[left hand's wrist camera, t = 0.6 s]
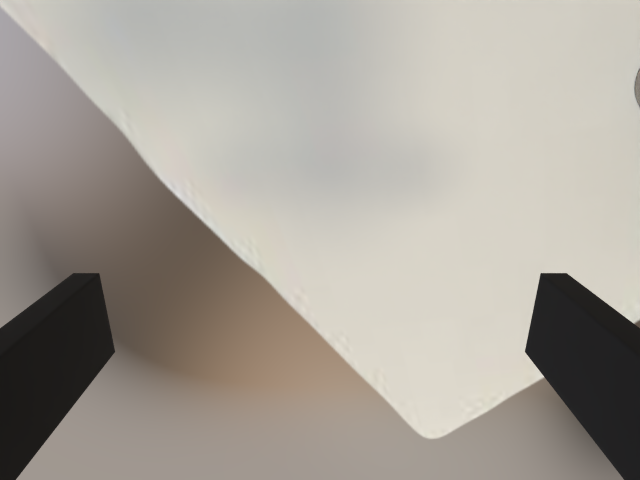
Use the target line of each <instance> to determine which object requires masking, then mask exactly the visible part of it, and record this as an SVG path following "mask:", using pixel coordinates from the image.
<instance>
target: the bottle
mask: <svg viewBox="0 0 640 480" xmlns="http://www.w3.org/2000/svg"><path fill="white" fill-rule="evenodd" d="M635 95H636V99H637V102H638V104H639V106H640V69H639V72H638V74H637V77H636V82H635Z"/></svg>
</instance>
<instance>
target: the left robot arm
mask: <svg viewBox="0 0 640 480" xmlns="http://www.w3.org/2000/svg"><path fill="white" fill-rule="evenodd" d="M114 352H115V349H114V345H113V339H112V334H111V330H110V325H109V320H108V315H107V310H106V305H105V300H104V295H103V290H102V285H101V280H100V275H99V273H73V274H72V275H71V276H69V277H68V278H67V279H65V280H64V281H63V282H61V283H60V284H59V285H57V286H56V287H55V288H53V289H52V290H51V291H49V292H48V293H47V294H45V295H44V296H43V297H41V298H40V299H39V300H37V301H36V302H35V303H33V304H32V305H31V306H29V307H28V308H27V309H25V310H24V311H23V312H21V313H20V314H19V315H17V316H16V317H15V318H13V319H12V320H11V321H9V322H8V323H7V324H5V325H4V326H3V327H1V328H0V480H16V479H17V477H18V476H19V475H20V473H21V472H22V471H23V470H24V468H25V467H26V466H27V464H28V463H29V462H30V461H31V459H32V458H33V457H34V455H35V454H36V453H37V452H38V450H39V449H40V448H41V446H42V445H43V444H44V443H45V441H46V440H47V439H48V437H49V436H50V435H51V434H52V432H53V431H54V430H55V428H56V427H57V426H58V425H59V423H60V422H61V421H62V419H63V418H64V417H65V416H66V414H67V413H68V412H69V410H70V409H71V408H72V407H73V405H74V404H75V403H76V401H77V400H78V399H79V398H80V396H81V395H82V394H83V392H84V391H85V390H86V388H87V387H88V386H89V385H90V383H91V382H92V381H93V379H94V378H95V377H96V376H97V374H98V373H99V372H100V370H101V369H102V368H103V367H104V365H105V364H106V363H107V361H108V360H109V359H110V358H111V356H112V355H113V354H114ZM525 352H526V354H527V355H528V356H529V358H530V359H531V360H532V361H533V363H534V364H535V365H536V367H537V368H538V369H539V370H540V372H541V373H542V374H543V376H544V377H545V378H546V379H547V381H548V382H549V383H550V385H551V386H552V387H553V388H554V390H555V391H556V392H557V394H558V395H559V396H560V397H561V399H562V400H563V401H564V403H565V404H566V405H567V407H568V408H569V409H570V410H571V412H572V413H573V414H574V415H575V417H576V418H577V419H578V421H579V422H580V423H581V425H582V426H583V427H584V428H585V430H586V431H587V432H588V434H589V435H590V436H591V437H592V439H593V440H594V441H595V443H596V444H597V445H598V446H599V448H600V449H601V450H602V452H603V453H604V454H605V455H606V457H607V458H608V459H609V461H610V462H611V463H612V464H613V466H614V467H615V468H616V470H617V471H618V472H619V473H620V475H621V476H622V477H623V479H624V480H640V328H639V327H637V326H636V325H635V324H633V323H632V322H631V321H629V320H628V319H627V318H625V317H624V316H623V315H621V314H620V313H619V312H617V311H616V310H615V309H613V308H612V307H611V306H609V305H608V304H607V303H605V302H604V301H603V300H601V299H600V298H599V297H597V296H596V295H595V294H593V293H592V292H591V291H589V290H588V289H587V288H585V287H584V286H583V285H581V284H580V283H579V282H577V281H576V280H575V279H573V278H572V277H571V276H569V275H568V274H567V273H541V275H540V280H539V285H538V290H537V295H536V300H535V305H534V310H533V315H532V320H531V325H530V330H529V334H528V339H527V344H526V349H525Z"/></svg>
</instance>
